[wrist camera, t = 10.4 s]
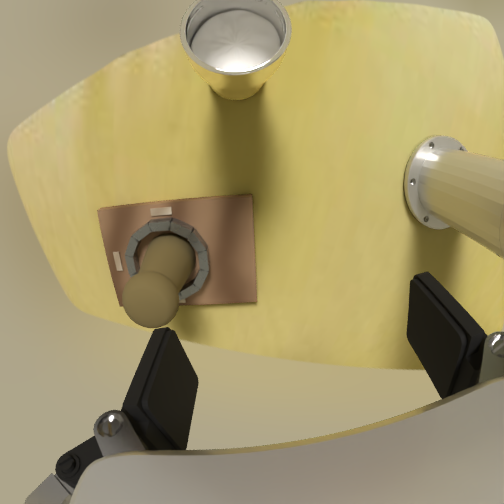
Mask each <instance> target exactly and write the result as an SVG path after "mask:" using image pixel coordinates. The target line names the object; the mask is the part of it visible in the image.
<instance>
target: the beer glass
mask: <svg viewBox="0 0 504 504" xmlns="http://www.w3.org/2000/svg"><path fill="white" fill-rule="evenodd" d="M291 33H292V27H291V21H290V18H289V15H288V13H287V11H286V9H285V8H284V7H283V5H282V4H281V3H280V2H279V1H278V0H195V1H194V2H193V3H192V4H191V5H190V7H189V8H188V9H187V11H186V12H185V14H184V16H183V18H182V21H181V25H180V39H181V43H182V46H183V48H184V50H185V53H186V56H187V58H188V61H189V62H190V64H191V66H192V68H193V69H194V71H195V72H196V73H197V74H198V75H199V77H200V78H201V79H202V80H204V81H205V82H206V83H208V84H209V85H210V86H211V88H212V89H213V91H214V92H215V93H217V94H218V95H219V96H221V97H223V98H225V99H229V100H243V99H246V98H249V97H251V96H253V95H254V94H256V93H257V92H258V91H259V90H260V88H261V87H262V85H263V83H264V82H266V81H267V80H268V79H269V78H270V77H271V76H272V75H273V74H274V73H275V72H276V71H277V69H278V68H279V66H280V64H281V63H282V60H283V58H284V56H285V53H286V50H287V47H288V45H289V42H290V39H291Z"/></svg>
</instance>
